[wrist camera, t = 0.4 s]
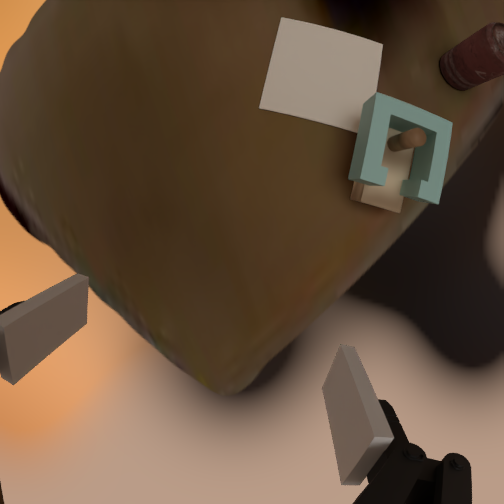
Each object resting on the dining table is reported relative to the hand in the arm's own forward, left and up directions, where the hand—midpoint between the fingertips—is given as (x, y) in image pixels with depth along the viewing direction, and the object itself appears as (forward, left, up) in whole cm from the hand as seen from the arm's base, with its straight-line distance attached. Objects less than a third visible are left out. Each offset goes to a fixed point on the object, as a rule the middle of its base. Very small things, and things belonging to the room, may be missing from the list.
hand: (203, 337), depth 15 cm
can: (-32, +24, -26) cm, 48 cm away
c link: (-15, +14, -21) cm, 29 cm away
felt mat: (-24, +5, -26) cm, 36 cm away
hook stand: (-15, +14, -26) cm, 33 cm away
